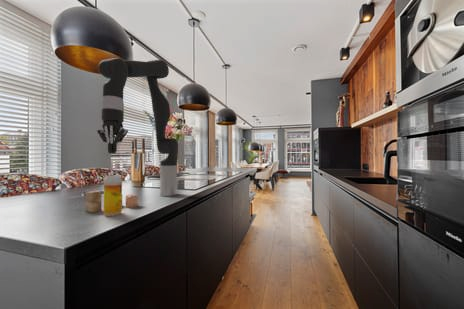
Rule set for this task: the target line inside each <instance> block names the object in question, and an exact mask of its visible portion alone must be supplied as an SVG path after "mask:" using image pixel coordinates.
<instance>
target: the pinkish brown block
mask: <svg viewBox="0 0 464 309" xmlns="http://www.w3.org/2000/svg"><path fill="white" fill-rule="evenodd" d="M138 207H139V194H135V193H132V194H127V195H125V208H126V209H132V208H138Z"/></svg>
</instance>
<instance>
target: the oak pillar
mask: <svg viewBox="0 0 464 309" xmlns="http://www.w3.org/2000/svg"><path fill="white" fill-rule="evenodd" d="M102 192H103V191H102V190H89V191H86V192H85V199H84V200H85V204H84V205H85V209H84V210H85V211H84V212H85V213H86V212H87V213H94V212H95V213H96V212H100V211H102V194H103V193H102Z"/></svg>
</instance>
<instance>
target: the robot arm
mask: <svg viewBox="0 0 464 309" xmlns="http://www.w3.org/2000/svg"><path fill="white" fill-rule="evenodd" d="M97 67H98V71H99V74H100V75H102V76H103V77H104V78H106V79H109V80H108V81H106V82H104V84H102V85H103V86H102V99H101V121H102V125H101V127H102V128H100V129H97V130H96V132H97V134H98V135H99V137H100V139H101V140H102V142H103V143H105V144H106V143H107V153H108V154H110V155H111V154H112V155H113V154H114V155H115V154H116V152H117V151H118V149H117V148H118V147H117V146H118V143H119V144H120V143H122V142H123V140H124V138H125V137H126V135H127V134H128V133H129V130H128V129H125V127H124V124H123V122H124V118H125V117H124V114H125V113H124V112H125V108H124V107H125V106H124V105H125V103H124V89H125V87H126V83H127V80H128V78H142V77H146V80H147V83H148V89H149V93H150V99H151V100H150V101H151V106H152V113H153V114H152V115H153V120H154V126H155V135H156V138H155V139H156V147H157V151H158V153H160V154H162V155H167V157H166V158H164V159H162V160H161V161H160V164H159V167H160V170H159V171H160V173H159V174H160V176H159V179H160V180H159V182H160V183H159V184H160V185H159V187H160V188H159V195H160V196H162V197H172V196H176V195H177V194H178V177H177V176H178V170H177V168H178V158H179V157H178V156H179V142H178V140H177V139H176V138H174V137H171V138H170V137H169V138H168V137H166V128H167V126H168V123H169V121H170V119H171V115H172V114H171V107H170V106H171V105H170V103H169V100H168V99H167V97H166V96H165V95H164V93H163V92H162V91H161V88H160V86H159V83H158V80H160V79H165V78H167V77H168V76H169V72H170V68H169V66H168V63H167V62H166V61H164V60H162V59H155V60H154V59H153V60H147V61H142V60H141V61H140V60H129V59H127V60H124V59H122V58H119V57H115V58H109V59H103V60H101V61H100V62H99V64H98V66H97Z"/></svg>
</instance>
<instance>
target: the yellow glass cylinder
mask: <svg viewBox="0 0 464 309" xmlns="http://www.w3.org/2000/svg"><path fill="white" fill-rule="evenodd" d="M122 207H123V178H122V176H121V175H119V174H118V175H116V174H115V175H114V174H113V175H105V177H104V178H103V214H104V216H106V217H114V216H118V215H121V213H122V211H123V210H122V209H123V208H122Z"/></svg>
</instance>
